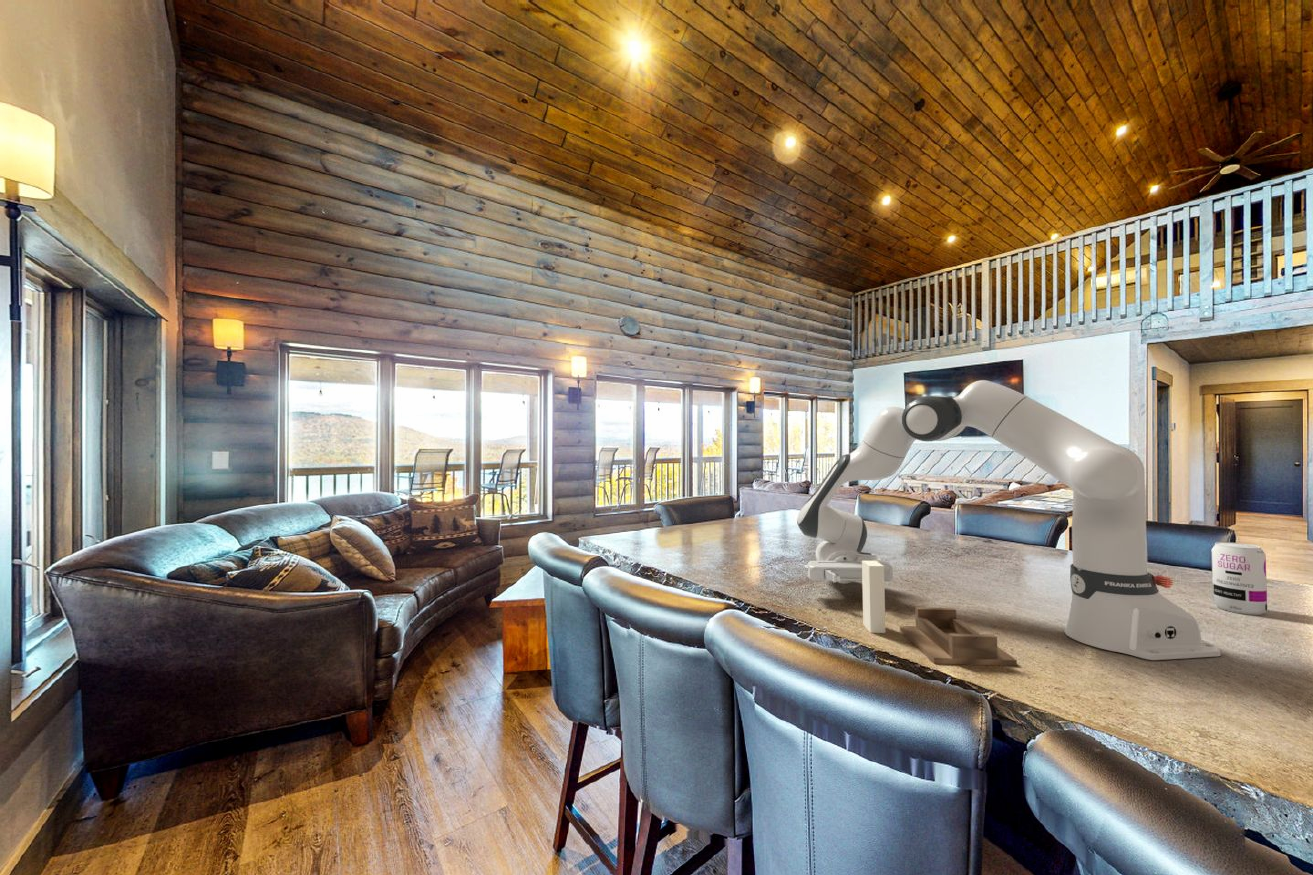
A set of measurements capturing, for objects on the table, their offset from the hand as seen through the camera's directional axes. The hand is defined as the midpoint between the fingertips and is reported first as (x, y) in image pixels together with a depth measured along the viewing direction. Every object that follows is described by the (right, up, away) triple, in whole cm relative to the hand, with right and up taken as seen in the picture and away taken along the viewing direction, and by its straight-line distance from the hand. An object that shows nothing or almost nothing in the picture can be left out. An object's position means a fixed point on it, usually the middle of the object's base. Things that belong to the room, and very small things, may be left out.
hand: (857, 579), depth 119 cm
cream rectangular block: (-1, -7, -12) cm, 14 cm away
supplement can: (+87, -6, -4) cm, 87 cm away
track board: (+10, -7, -22) cm, 25 cm away
